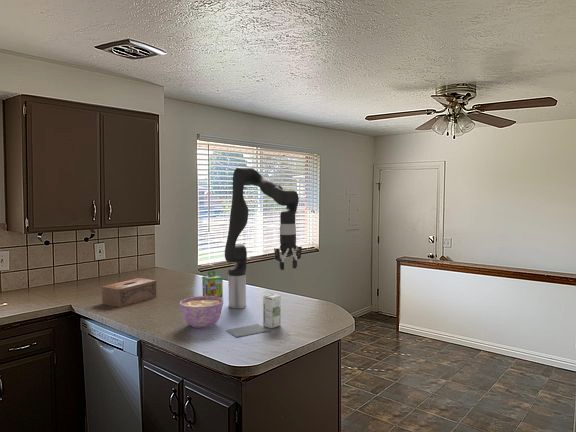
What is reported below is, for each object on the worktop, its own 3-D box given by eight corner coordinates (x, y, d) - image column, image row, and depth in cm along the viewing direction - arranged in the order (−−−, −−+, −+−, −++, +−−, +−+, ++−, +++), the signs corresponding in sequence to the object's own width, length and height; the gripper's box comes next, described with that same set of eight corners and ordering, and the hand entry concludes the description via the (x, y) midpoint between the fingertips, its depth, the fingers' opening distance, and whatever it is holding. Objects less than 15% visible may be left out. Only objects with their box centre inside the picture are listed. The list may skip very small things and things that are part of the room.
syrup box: (271, 323, 213) (271, 292, 212) (281, 325, 209) (280, 294, 208) (263, 326, 209) (262, 295, 208) (272, 329, 205) (272, 297, 204)
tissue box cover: (119, 307, 244) (119, 289, 243) (102, 304, 251) (101, 286, 250) (156, 297, 266) (156, 280, 265) (139, 294, 273) (139, 278, 272)
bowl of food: (183, 320, 220) (183, 296, 219) (225, 318, 221) (225, 295, 220) (176, 333, 200) (175, 307, 199) (222, 332, 201) (221, 306, 200)
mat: (226, 330, 203) (226, 329, 203) (257, 324, 211) (257, 323, 211) (236, 337, 194) (236, 336, 194) (269, 331, 202) (269, 330, 202)
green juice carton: (209, 299, 259) (208, 273, 258) (201, 296, 267) (201, 271, 266) (223, 296, 265) (222, 271, 264) (216, 293, 272) (215, 269, 271)
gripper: (296, 231, 217) (297, 266, 219) (270, 233, 210) (270, 269, 211) (305, 232, 211) (305, 268, 212) (278, 235, 204) (279, 272, 205)
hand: (288, 268), depth 212 cm, fingers open, 6 cm apart
